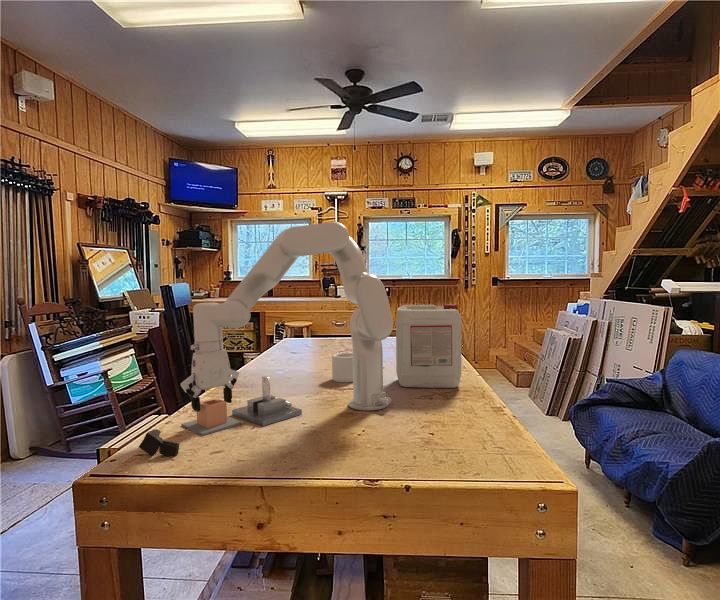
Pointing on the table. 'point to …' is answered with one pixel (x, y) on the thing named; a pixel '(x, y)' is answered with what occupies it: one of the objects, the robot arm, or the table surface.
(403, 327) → the jerry can
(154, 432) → the lighter
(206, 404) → the collar
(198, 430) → the mat
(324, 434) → the table surface
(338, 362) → the mug
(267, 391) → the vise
